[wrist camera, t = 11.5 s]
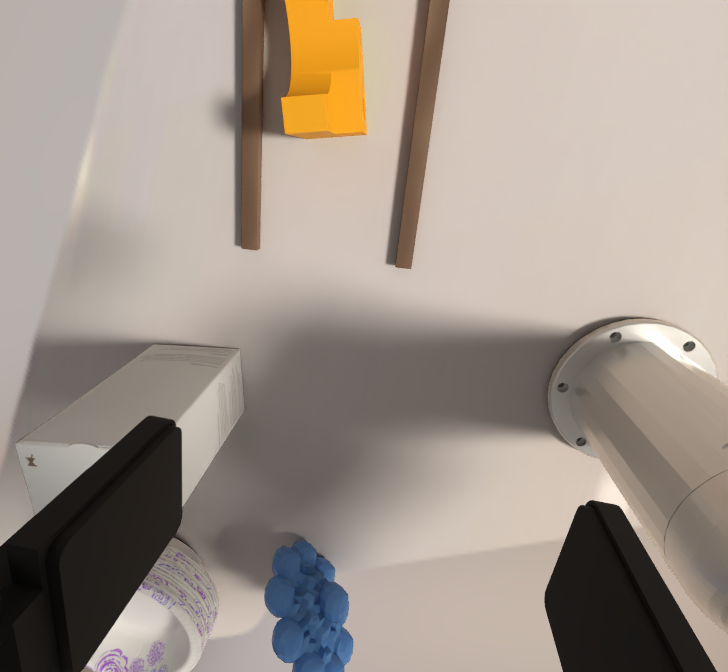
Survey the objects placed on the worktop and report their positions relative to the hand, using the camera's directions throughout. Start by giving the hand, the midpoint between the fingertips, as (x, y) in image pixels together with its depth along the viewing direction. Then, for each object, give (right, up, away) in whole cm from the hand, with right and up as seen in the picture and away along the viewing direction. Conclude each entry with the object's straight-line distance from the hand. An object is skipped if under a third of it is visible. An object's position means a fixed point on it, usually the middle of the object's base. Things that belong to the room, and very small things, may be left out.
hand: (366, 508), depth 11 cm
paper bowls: (-22, -21, +39) cm, 50 cm away
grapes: (-4, -19, +37) cm, 41 cm away
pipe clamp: (-2, +24, +20) cm, 31 cm away
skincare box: (-15, +1, +30) cm, 33 cm away
